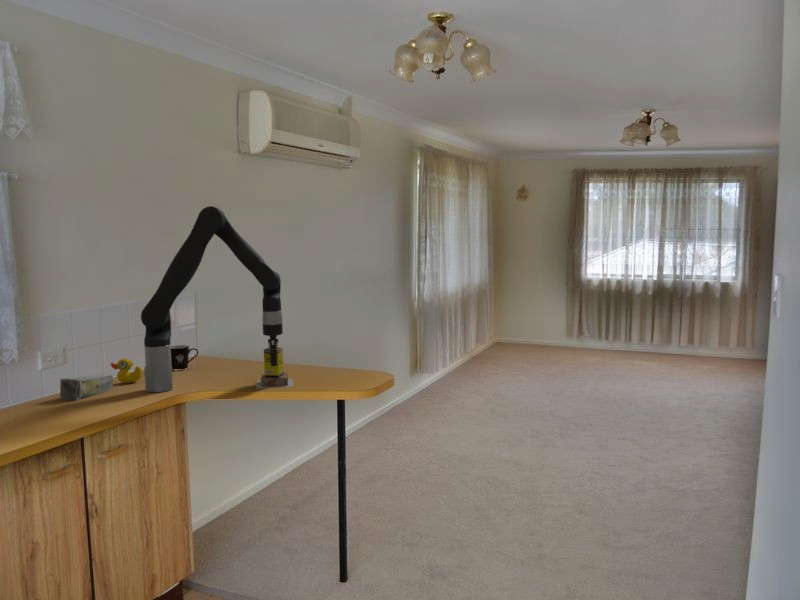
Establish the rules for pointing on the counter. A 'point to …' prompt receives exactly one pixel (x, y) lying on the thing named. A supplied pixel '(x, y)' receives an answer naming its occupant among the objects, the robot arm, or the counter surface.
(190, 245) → the robot arm
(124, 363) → the duckling
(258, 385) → the pad
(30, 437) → the counter surface
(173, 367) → the coffee mug
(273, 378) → the base block
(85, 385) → the block
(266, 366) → the supplement box
